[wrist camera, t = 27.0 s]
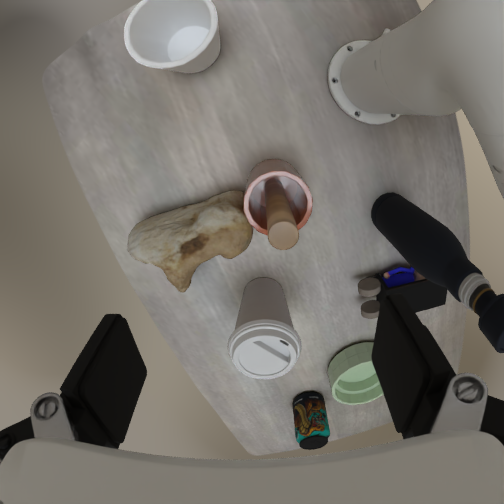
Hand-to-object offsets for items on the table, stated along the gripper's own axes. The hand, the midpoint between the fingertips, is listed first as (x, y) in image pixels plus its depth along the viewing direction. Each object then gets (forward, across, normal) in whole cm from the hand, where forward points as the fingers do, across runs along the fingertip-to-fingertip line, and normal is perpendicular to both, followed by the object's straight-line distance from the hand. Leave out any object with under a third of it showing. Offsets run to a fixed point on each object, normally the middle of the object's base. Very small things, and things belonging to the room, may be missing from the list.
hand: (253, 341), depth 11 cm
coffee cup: (+34, +1, +20) cm, 40 cm away
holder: (+34, -2, +2) cm, 34 cm away
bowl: (+34, -17, +39) cm, 55 cm away
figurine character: (+34, -22, +20) cm, 45 cm away
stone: (+34, +10, +9) cm, 37 cm away
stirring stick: (+34, -2, +2) cm, 34 cm away
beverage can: (+34, -7, +50) cm, 61 cm away
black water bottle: (+34, -20, +8) cm, 40 cm away
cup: (+34, +7, -19) cm, 40 cm away
